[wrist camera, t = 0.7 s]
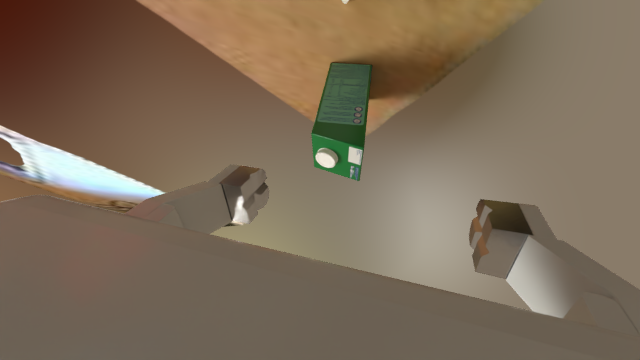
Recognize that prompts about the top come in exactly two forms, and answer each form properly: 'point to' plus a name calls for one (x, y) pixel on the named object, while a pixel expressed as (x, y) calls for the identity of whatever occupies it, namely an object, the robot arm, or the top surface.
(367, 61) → the top surface
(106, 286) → the robot arm
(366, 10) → the top surface
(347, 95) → the milk carton
